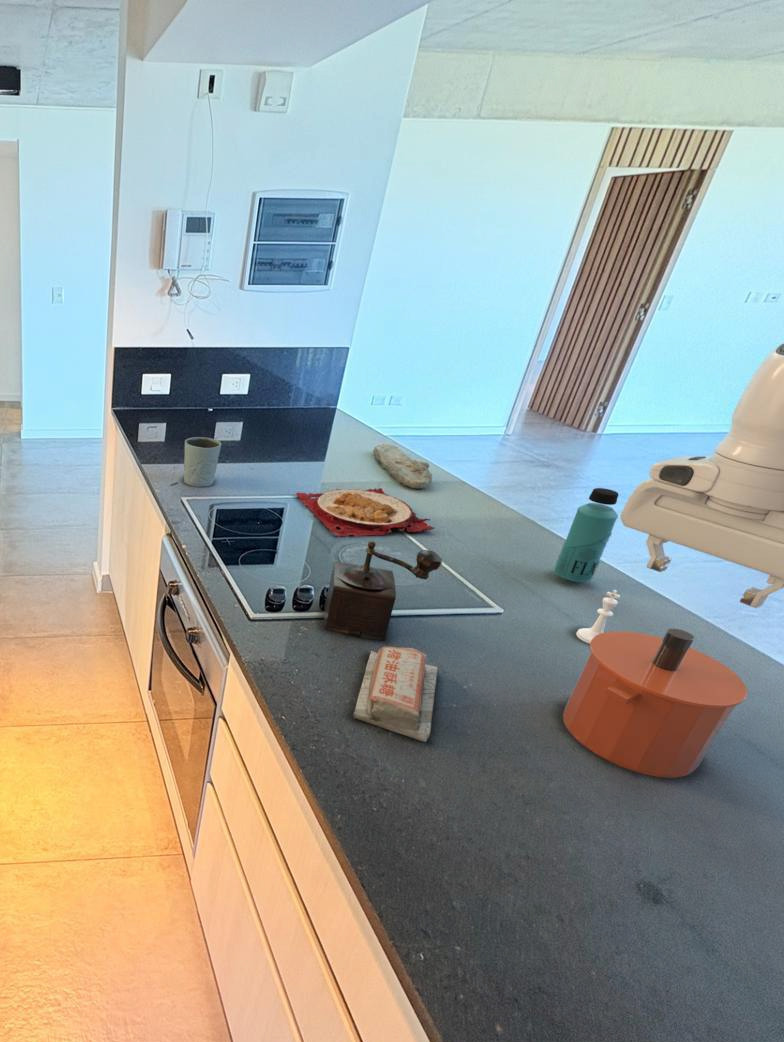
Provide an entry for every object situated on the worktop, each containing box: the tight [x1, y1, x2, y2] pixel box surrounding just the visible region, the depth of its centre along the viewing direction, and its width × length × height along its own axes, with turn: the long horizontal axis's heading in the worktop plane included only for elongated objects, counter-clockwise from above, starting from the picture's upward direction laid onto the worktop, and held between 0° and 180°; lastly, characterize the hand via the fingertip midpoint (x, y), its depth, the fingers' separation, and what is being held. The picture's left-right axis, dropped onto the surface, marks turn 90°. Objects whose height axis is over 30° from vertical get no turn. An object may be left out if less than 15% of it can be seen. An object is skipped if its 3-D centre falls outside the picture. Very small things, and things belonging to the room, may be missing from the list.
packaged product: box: [353, 645, 438, 743], centre depth 95 cm, size 18×5×10 cm
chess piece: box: [575, 589, 621, 645], centre depth 106 cm, size 5×5×10 cm
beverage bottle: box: [554, 487, 619, 583], centre depth 122 cm, size 6×7×20 cm
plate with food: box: [295, 487, 436, 537], centre depth 157 cm, size 24×26×3 cm
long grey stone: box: [372, 443, 433, 489], centre depth 185 cm, size 35×5×10 cm
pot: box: [562, 651, 736, 779], centre depth 85 cm, size 15×20×12 cm
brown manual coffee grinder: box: [323, 540, 443, 641], centre depth 109 cm, size 16×11×18 cm
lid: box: [588, 628, 748, 708], centre depth 81 cm, size 16×16×6 cm
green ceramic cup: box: [183, 436, 222, 488], centre depth 177 cm, size 10×10×12 cm
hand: (700, 585), depth 77 cm, fingers open, 8 cm apart
